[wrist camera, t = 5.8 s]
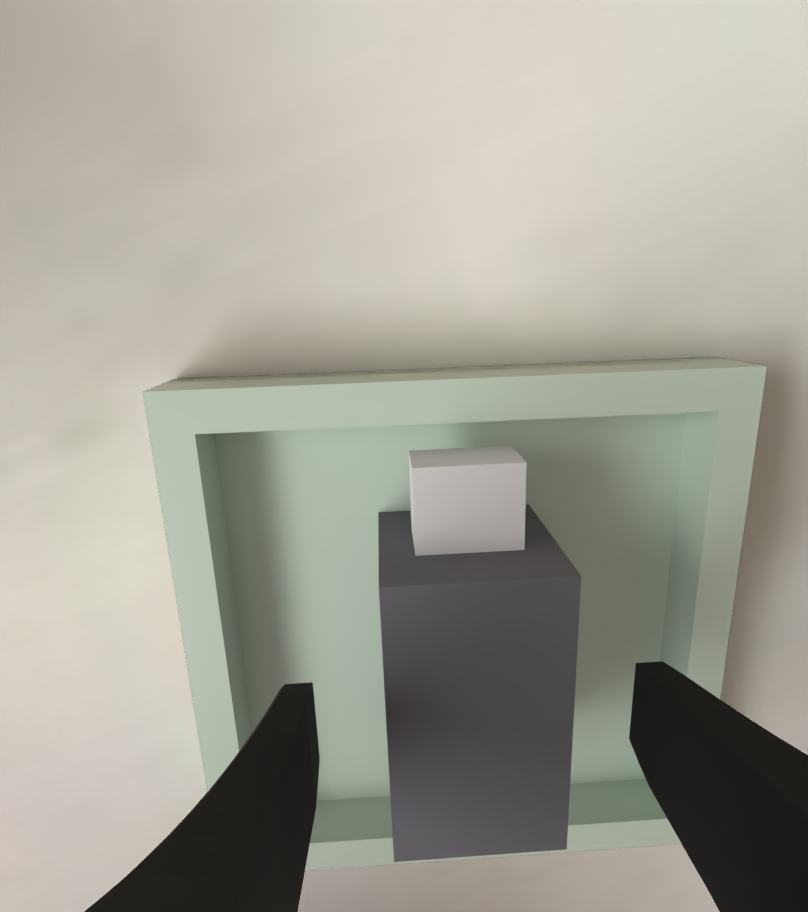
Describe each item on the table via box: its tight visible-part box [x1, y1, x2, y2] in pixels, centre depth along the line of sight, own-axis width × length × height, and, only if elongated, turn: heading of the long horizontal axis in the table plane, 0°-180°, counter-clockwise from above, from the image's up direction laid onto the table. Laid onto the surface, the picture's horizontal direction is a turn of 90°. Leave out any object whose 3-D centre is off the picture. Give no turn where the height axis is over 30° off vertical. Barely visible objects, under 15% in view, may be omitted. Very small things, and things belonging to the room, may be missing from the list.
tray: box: [142, 357, 767, 871], centre depth 15 cm, size 14×14×2 cm
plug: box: [378, 446, 581, 862], centre depth 14 cm, size 9×4×4 cm, turn 2°
